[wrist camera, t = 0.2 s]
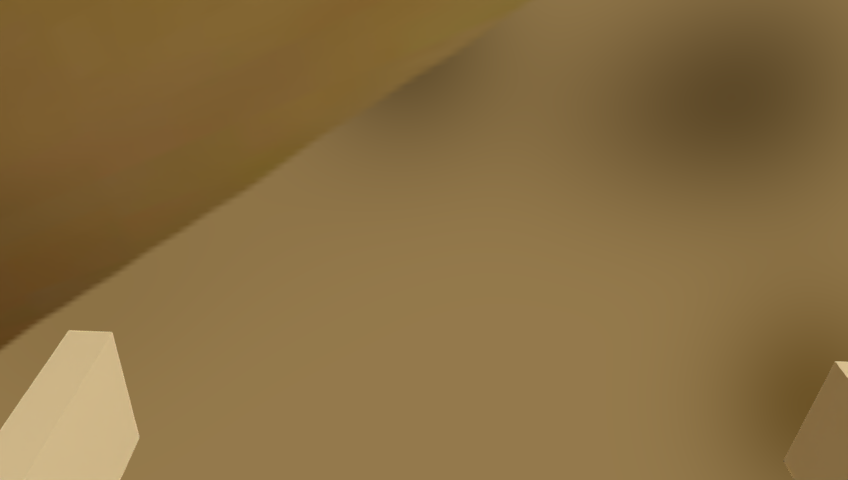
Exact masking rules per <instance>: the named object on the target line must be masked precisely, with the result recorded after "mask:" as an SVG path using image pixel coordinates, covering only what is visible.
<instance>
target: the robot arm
mask: <svg viewBox="0 0 848 480" xmlns="http://www.w3.org/2000/svg"><path fill="white" fill-rule="evenodd" d="M138 440H139V434H138V429H137V425H136V422H135V418H134V414H133V410H132V406H131V402H130V398H129V394H128V391H127V387H126V383H125V379H124V375H123V372H122V368H121V364H120V360H119V356H118V352H117V348H116V344H115V340H114V336H113V332H101V331H78V330H77V331H76V330H69V331H68V332H67V333H66V335H65V337H64V338H63V340H62V341H61V342H60V344H59V345H58V347H57V348H56V350H55V351H54V353H53V354H52V355H51V357H50V358H49V360H48V361H47V363H46V364H45V365H44V367H43V368H42V370H41V371H40V373H39V374H38V376H37V377H36V379H35V380H34V381H33V383H32V384H31V386H30V387H29V389H28V390H27V391H26V393H25V394H24V396H23V397H22V399H21V400H20V402H19V403H18V404H17V406H16V408H15V409H14V410H13V412H12V413H11V415H10V416H9V418H8V419H7V421H6V422H5V424H4V425H3V426H2V428H1V429H0V480H120V479H121V477H122V475H123V473H124V471H125V468H126V466H127V464H128V462H129V459H130V457H131V455H132V453H133V451H134V449H135V447H136V444H137V442H138ZM784 463H785V465H786V466H787V468H788V470H789V472H790V474H791V475H792V477H793V479H794V480H848V362H836V361H835V363H834V364H833V366H832V368H831V370H830V372H829V374H828V376H827V378H826V380H825V382H824V384H823V386H822V388H821V389H820V391H819V393H818V395H817V397H816V399H815V401H814V403H813V405H812V407H811V409H810V411H809V413H808V414H807V416H806V418H805V420H804V422H803V424H802V426H801V428H800V430H799V432H798V434H797V436H796V438H795V439H794V442H793V443H792V445H791V447H790V449H789V451H788V453H787V455H786V457H785V459H784Z"/></svg>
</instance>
